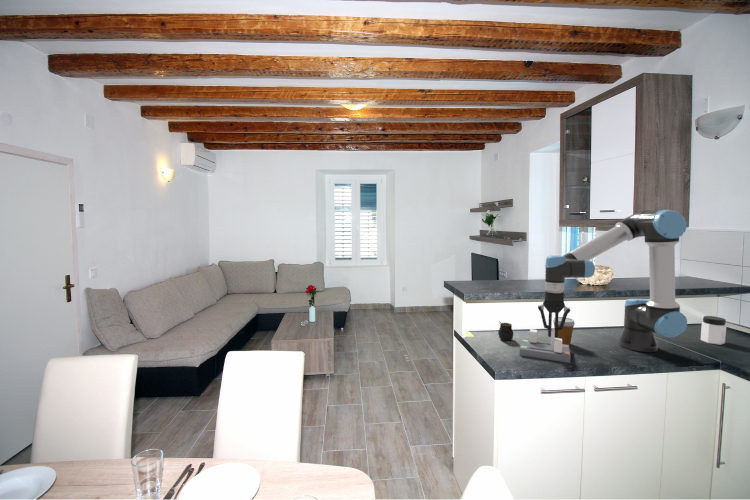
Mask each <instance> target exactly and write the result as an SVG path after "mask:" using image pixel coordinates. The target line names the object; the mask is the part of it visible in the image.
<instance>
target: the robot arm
mask: <svg viewBox="0 0 750 500" xmlns="http://www.w3.org/2000/svg"><path fill="white" fill-rule="evenodd" d="M686 230H687V221H686V219H685V216H683V215H682V214H681V213H680V212H678V211H677V210H673V209H672V210H671V209H657V210H655V209H654V210H652V209H651V210H641V211H638V212H636V213H633V214H631V215H629V216H627V217H625V218H624V219H621V220H619V221H618V222H617V223H615V225H614V227H612V228H610V229H608V230H607V231H604V233H603V232H602V233H601V234H599V235H598V236H596V237H595V238H593V239H591V240H589V241H587V242H585V243H583V244H581V245H580V246H579V247H576V248H574V249H573V250H571V251H570V252H567V253H565V254H564V255H548V256H546V259H545V265H544V266H545V275H544V276H545V277H544V278H545V279H544V301H543V303H542V304H538V306H537V309H538V311H539V312H540V315H541V316H540V317H541V320H542V325H543V328H544V329H547V337H549V338H550V342H551V345H554V339H555V338H557V337H558V330H562V329H563V326H564V323H565V320H566V318H568V314H569V313H570V312H571V308H570V307H567V306H566V304H565V293H564V291H565V282H566V281H565V279H570V278H573V279H574V278H575V279H576V278H578V279H585V278H591V277H593V276H594V274H595V273H596V271H595V270H596V267H595V263H594V262H593V261H592V260H593V259H594V258H596V257H598V256H599V255H602V254H603V253H605V252H607V251H609V250H611V249H613V248H614V247H616V246H618V245H620V244H622V243H623V242H625V241H627V242H629V241H631V240H633V239H637V238H640V237H641V238H642V237H644V243H645V244H646V245H648V255H649V258H648V260H649V261H648V262H649V299H648V298H647V299H646V298H628V299H625V303H624V318H623V320H624V321H623V329H622V331H621V334H620V336H619V337H618V345H619V346H620V347H622V348H624V349H627V350H631V351H635V352H641V353H642V352H644V353H654V352H658V348H659V347H658V345H659V344H658V341H657V339H656V335H655V334H657V335H659V336H663V337H666V338H675V337H678V336H680V335H681V334H682V333H684V331H685V330H686V329H687V326H688V318H687V317H686V315H685V314H683V313H682V312H681V305H680V304H679V302H677V301H676V266H675V265H676V264H675V263H676V257H675V256H676V254H675V253H676V252H675V250H676V249H675V246H676V245H677V244H678V243H679V242H680V237H682V236H683V235H684V233H685V232H686ZM545 309H546V311H547V312H548V324H547V321H546V316H545V313H544V310H545ZM561 311H563V314H562V316H561V317H562V320H561V323H560V326H558V317H559V315H560V314H559V313H561ZM553 313H554V318H555V329H554V328H552V324H553V319H552V318H553Z"/></svg>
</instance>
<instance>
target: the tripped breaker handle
mask: <svg viewBox="0 0 750 500" xmlns="http://www.w3.org/2000/svg"><path fill="white" fill-rule="evenodd" d="M554 352H559V353H562V339H560V338H555V339H554Z"/></svg>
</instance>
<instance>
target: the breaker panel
mask: <svg viewBox="0 0 750 500" xmlns="http://www.w3.org/2000/svg"><path fill="white" fill-rule="evenodd" d="M519 356H521V357H522V356H523V357H528V358H535V359H542V360H548V361H555V362H562V363H567V364H568V363H569V364H570V363H571V351H570V345H566V344H562V353H559V352H554V345H551V341H542V340H537V343H534V342H530V339H528V338H521V343H520V346H519Z"/></svg>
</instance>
